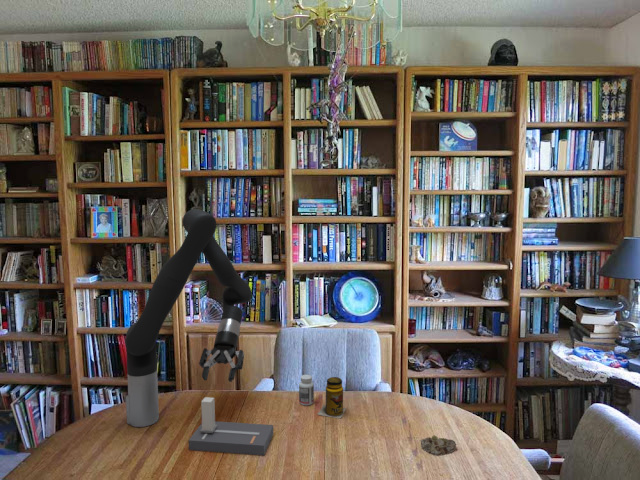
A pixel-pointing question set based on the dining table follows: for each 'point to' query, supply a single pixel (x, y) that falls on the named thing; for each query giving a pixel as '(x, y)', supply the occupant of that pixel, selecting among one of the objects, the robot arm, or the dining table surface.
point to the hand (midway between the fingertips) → (217, 380)
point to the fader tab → (208, 415)
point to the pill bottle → (306, 390)
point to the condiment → (333, 399)
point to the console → (233, 438)
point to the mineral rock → (438, 445)
